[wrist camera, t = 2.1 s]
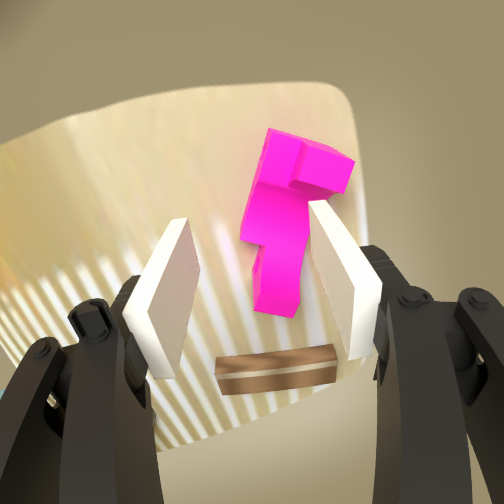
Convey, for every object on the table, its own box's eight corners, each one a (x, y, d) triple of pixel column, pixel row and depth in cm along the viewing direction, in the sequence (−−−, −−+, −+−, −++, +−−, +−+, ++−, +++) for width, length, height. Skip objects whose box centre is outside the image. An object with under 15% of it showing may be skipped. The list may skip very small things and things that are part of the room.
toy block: (268, 127, 27) (275, 136, 21) (330, 146, 28) (355, 161, 21) (230, 263, 34) (226, 305, 27) (284, 275, 35) (292, 318, 28)
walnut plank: (223, 379, 43) (222, 395, 40) (216, 357, 41) (214, 374, 38) (331, 366, 42) (335, 382, 39) (332, 343, 40) (337, 360, 37)
